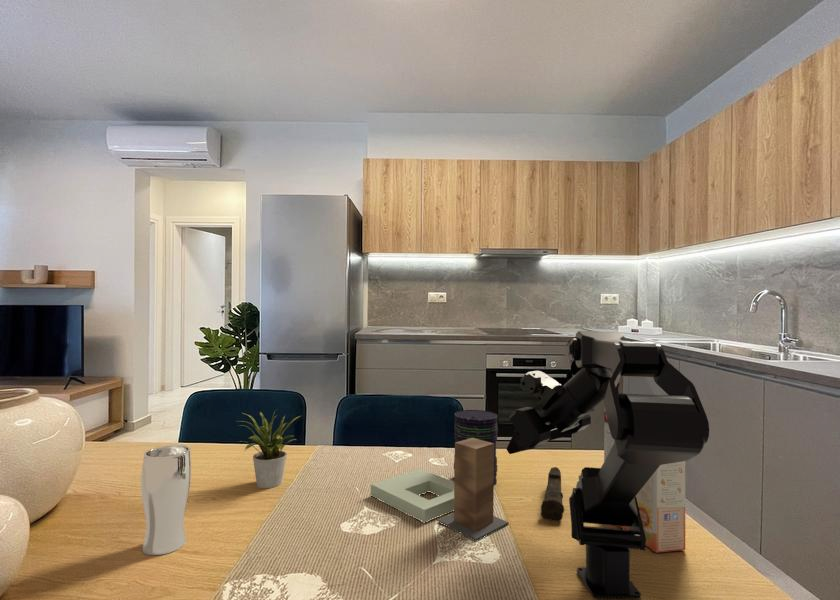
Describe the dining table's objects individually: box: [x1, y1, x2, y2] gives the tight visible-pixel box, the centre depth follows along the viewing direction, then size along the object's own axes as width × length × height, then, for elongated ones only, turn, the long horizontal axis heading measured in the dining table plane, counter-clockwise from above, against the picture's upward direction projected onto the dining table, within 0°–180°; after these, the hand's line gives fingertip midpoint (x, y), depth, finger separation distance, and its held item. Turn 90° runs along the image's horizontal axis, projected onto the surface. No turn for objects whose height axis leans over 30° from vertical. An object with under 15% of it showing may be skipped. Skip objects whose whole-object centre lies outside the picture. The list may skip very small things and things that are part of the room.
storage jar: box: [453, 409, 499, 486], centre depth 102 cm, size 10×10×15 cm
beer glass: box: [140, 444, 192, 556], centre depth 72 cm, size 7×7×15 cm
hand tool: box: [540, 466, 565, 522], centre depth 91 cm, size 19×4×5 cm, turn 159°
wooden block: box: [453, 438, 495, 531], centre depth 81 cm, size 5×5×14 cm
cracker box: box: [603, 409, 686, 554], centre depth 78 cm, size 14×6×21 cm, turn 12°
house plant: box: [235, 409, 303, 489], centre depth 98 cm, size 14×14×16 cm
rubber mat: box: [437, 512, 509, 542], centre depth 80 cm, size 9×9×1 cm
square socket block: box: [370, 468, 454, 522], centre depth 91 cm, size 16×14×2 cm
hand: (523, 446), depth 82 cm, fingers open, 9 cm apart
